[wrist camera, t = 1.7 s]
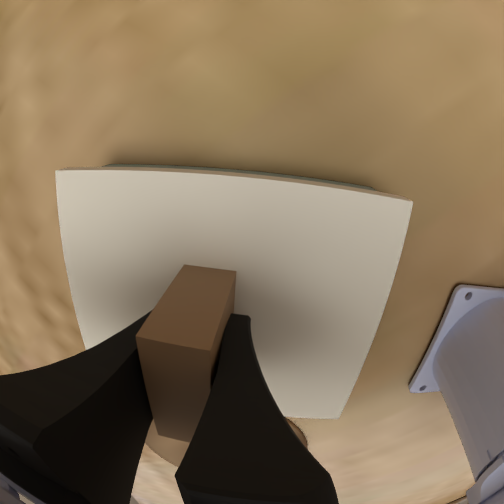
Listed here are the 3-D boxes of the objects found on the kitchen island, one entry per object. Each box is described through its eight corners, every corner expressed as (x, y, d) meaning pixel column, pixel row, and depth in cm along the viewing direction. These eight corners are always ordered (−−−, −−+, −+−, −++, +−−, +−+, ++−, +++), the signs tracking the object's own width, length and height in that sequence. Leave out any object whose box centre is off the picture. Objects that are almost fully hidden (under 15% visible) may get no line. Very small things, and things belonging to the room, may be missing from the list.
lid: (396, 191, 10) (482, 248, 5) (335, 395, 14) (345, 488, 9) (78, 164, 11) (-24, 197, 6) (107, 359, 15) (61, 431, 10)
